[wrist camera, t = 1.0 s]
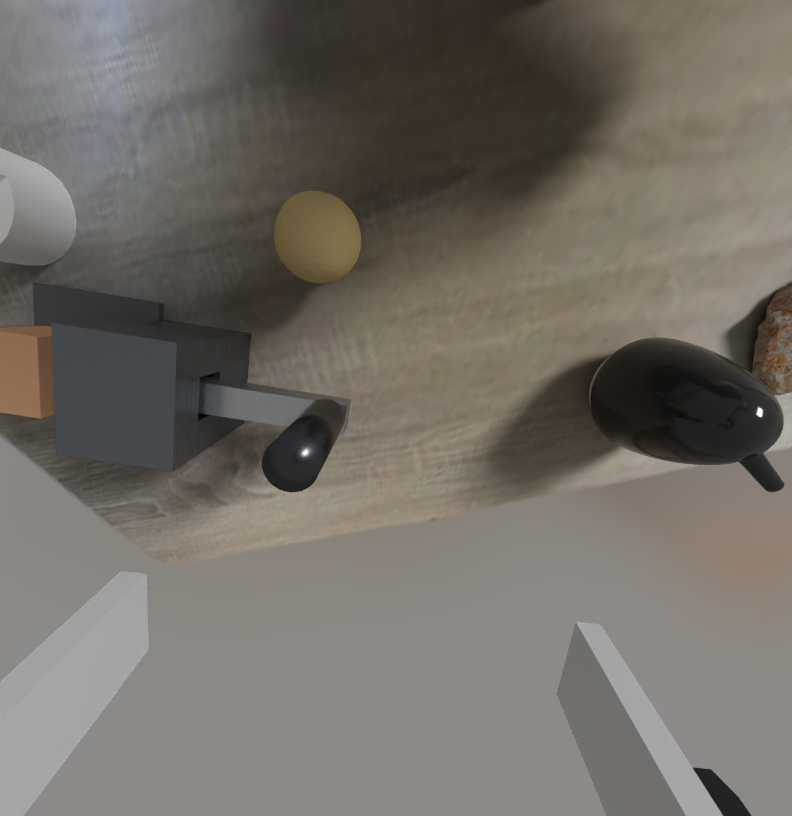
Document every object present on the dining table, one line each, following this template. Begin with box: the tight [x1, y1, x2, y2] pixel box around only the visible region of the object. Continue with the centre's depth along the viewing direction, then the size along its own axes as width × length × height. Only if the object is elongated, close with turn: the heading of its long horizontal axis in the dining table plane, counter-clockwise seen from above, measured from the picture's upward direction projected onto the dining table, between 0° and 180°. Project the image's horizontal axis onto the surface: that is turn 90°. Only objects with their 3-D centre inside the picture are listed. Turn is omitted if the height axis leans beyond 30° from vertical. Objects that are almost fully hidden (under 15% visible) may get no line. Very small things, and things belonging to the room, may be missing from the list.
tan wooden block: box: [0, 326, 55, 419], centre depth 31 cm, size 6×4×6 cm, turn 171°
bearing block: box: [51, 320, 251, 472], centre depth 33 cm, size 9×8×13 cm
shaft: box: [198, 376, 351, 492], centre depth 26 cm, size 3×29×12 cm, turn 81°
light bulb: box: [274, 190, 361, 284], centre depth 32 cm, size 6×6×10 cm
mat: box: [33, 283, 163, 326], centre depth 39 cm, size 12×12×1 cm
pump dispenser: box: [589, 338, 784, 492], centre depth 32 cm, size 10×10×15 cm
